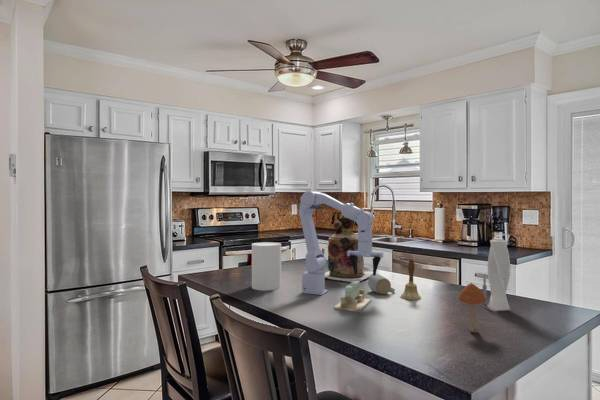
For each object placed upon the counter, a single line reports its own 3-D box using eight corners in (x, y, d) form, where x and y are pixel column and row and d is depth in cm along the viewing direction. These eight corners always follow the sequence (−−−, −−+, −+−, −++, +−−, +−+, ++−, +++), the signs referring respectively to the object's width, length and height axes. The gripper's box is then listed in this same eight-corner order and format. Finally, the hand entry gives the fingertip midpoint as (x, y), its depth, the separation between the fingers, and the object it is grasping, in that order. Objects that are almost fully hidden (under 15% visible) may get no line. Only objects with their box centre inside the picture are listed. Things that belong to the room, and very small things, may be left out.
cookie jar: (337, 270, 224) (337, 213, 224) (377, 275, 210) (377, 215, 210) (313, 278, 204) (312, 215, 204) (356, 284, 190) (356, 217, 189)
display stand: (334, 308, 148) (334, 296, 148) (346, 298, 163) (346, 287, 163) (360, 311, 144) (360, 299, 144) (370, 301, 159) (370, 289, 159)
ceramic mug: (376, 295, 167) (377, 277, 167) (367, 291, 175) (367, 273, 175) (398, 294, 171) (399, 276, 171) (388, 290, 178) (389, 272, 178)
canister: (263, 292, 175) (263, 246, 174) (246, 286, 185) (245, 243, 184) (287, 287, 183) (287, 243, 183) (269, 282, 194) (269, 241, 193)
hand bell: (422, 296, 166) (422, 258, 166) (419, 301, 159) (419, 261, 159) (402, 294, 170) (402, 256, 170) (398, 298, 162) (398, 259, 162)
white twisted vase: (500, 305, 153) (500, 232, 153) (515, 311, 145) (515, 234, 145) (480, 306, 152) (481, 233, 151) (494, 313, 144) (494, 235, 143)
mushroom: (453, 327, 127) (453, 280, 127) (477, 326, 128) (477, 280, 127) (466, 336, 119) (466, 286, 119) (491, 335, 120) (491, 285, 119)
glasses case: (345, 300, 148) (345, 287, 148) (353, 293, 160) (353, 280, 160) (351, 301, 147) (351, 287, 147) (360, 293, 159) (359, 281, 159)
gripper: (345, 241, 162) (345, 274, 162) (380, 243, 156) (380, 277, 156) (349, 239, 168) (349, 271, 168) (384, 241, 163) (384, 274, 163)
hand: (365, 274), depth 163 cm, fingers open, 7 cm apart
